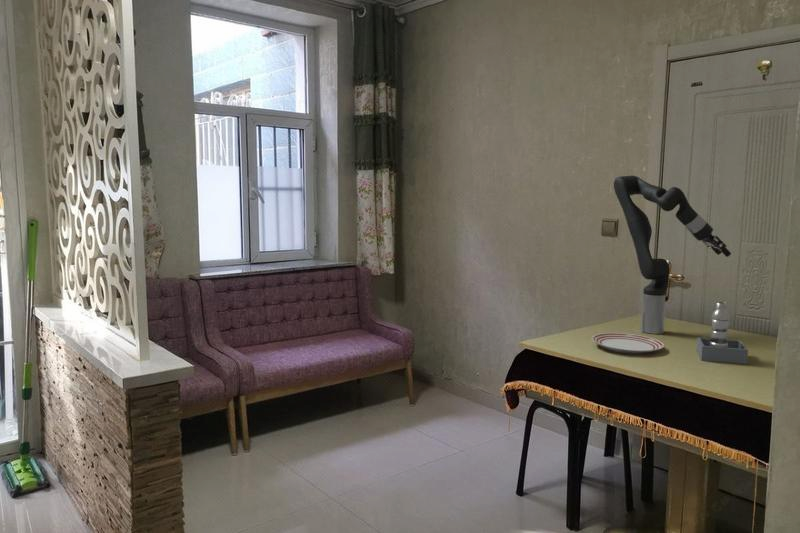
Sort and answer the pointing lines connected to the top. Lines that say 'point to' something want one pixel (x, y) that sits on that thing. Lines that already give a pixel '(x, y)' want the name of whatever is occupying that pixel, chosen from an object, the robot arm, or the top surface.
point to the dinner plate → (627, 343)
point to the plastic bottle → (720, 326)
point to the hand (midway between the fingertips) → (724, 254)
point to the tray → (722, 352)
